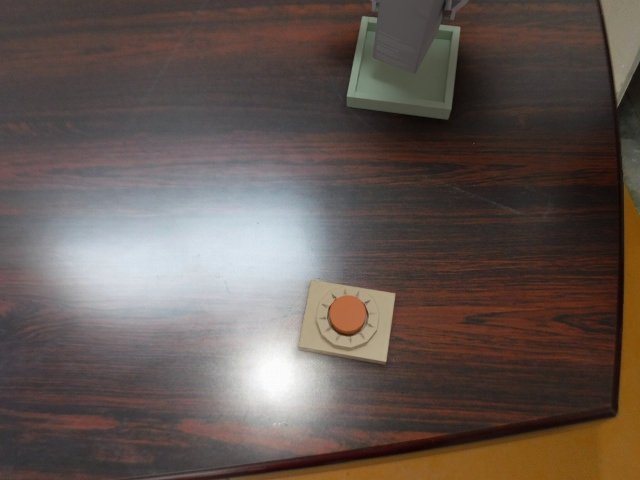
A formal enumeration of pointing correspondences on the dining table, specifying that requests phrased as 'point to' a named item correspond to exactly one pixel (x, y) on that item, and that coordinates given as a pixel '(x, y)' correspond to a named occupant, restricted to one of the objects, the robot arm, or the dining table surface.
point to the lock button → (347, 314)
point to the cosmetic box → (406, 31)
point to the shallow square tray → (405, 77)
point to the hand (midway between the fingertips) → (413, 11)
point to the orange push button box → (358, 345)
